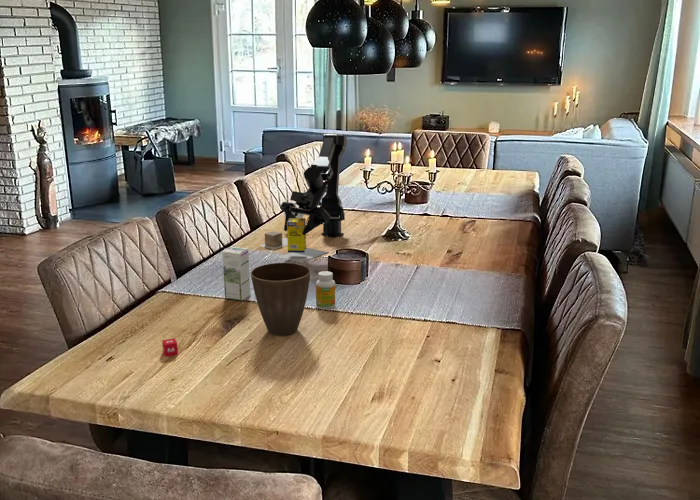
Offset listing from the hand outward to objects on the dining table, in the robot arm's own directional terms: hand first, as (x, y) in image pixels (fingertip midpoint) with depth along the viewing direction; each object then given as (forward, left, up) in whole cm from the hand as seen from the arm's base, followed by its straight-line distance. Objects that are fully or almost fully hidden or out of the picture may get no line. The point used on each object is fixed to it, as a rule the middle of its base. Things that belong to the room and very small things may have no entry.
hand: (293, 232), depth 239 cm
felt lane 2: (-5, -1, -9) cm, 11 cm away
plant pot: (+43, +49, -9) cm, 66 cm away
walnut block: (-5, -18, -9) cm, 21 cm away
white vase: (-23, -29, -9) cm, 38 cm away
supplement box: (-1, 0, -7) cm, 7 cm away
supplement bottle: (+23, +43, -9) cm, 50 cm away
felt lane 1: (-8, -18, -9) cm, 22 cm away
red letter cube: (+71, +42, -10) cm, 83 cm away
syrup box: (+37, +20, -9) cm, 43 cm away
